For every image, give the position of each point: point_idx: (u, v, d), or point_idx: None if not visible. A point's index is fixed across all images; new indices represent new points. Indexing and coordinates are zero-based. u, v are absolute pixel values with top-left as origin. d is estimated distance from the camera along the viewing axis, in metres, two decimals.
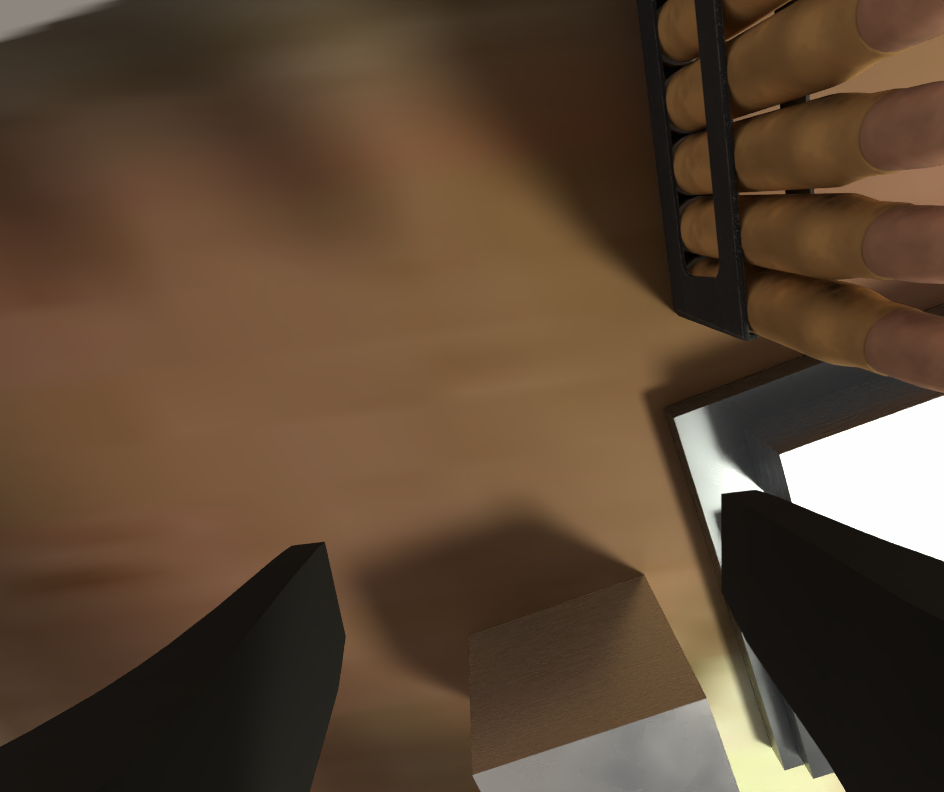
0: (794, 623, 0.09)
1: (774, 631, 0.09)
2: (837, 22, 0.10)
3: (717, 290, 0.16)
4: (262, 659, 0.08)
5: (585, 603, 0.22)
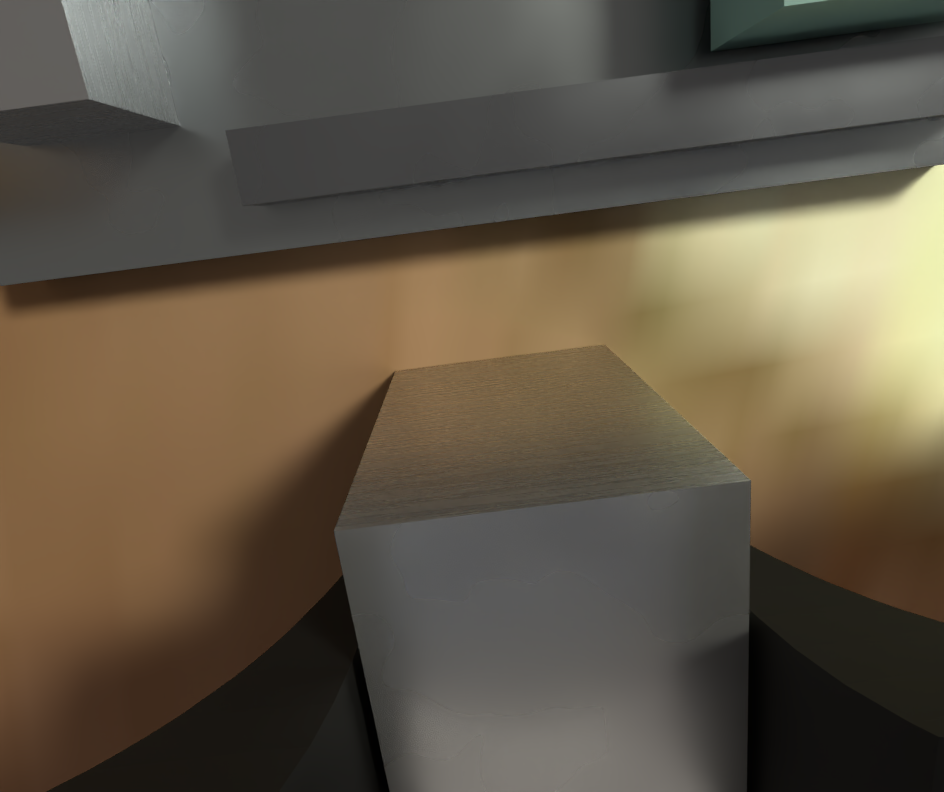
0: None
1: None
2: None
3: None
4: None
5: None
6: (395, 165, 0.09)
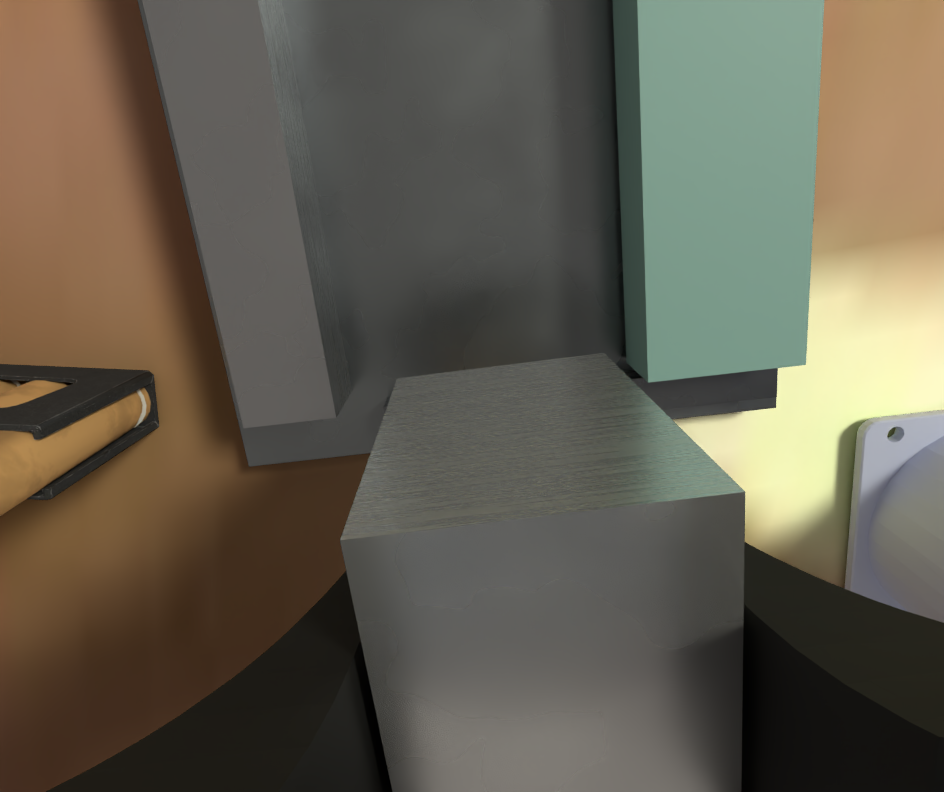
0: None
1: None
2: None
3: None
4: None
5: None
6: None
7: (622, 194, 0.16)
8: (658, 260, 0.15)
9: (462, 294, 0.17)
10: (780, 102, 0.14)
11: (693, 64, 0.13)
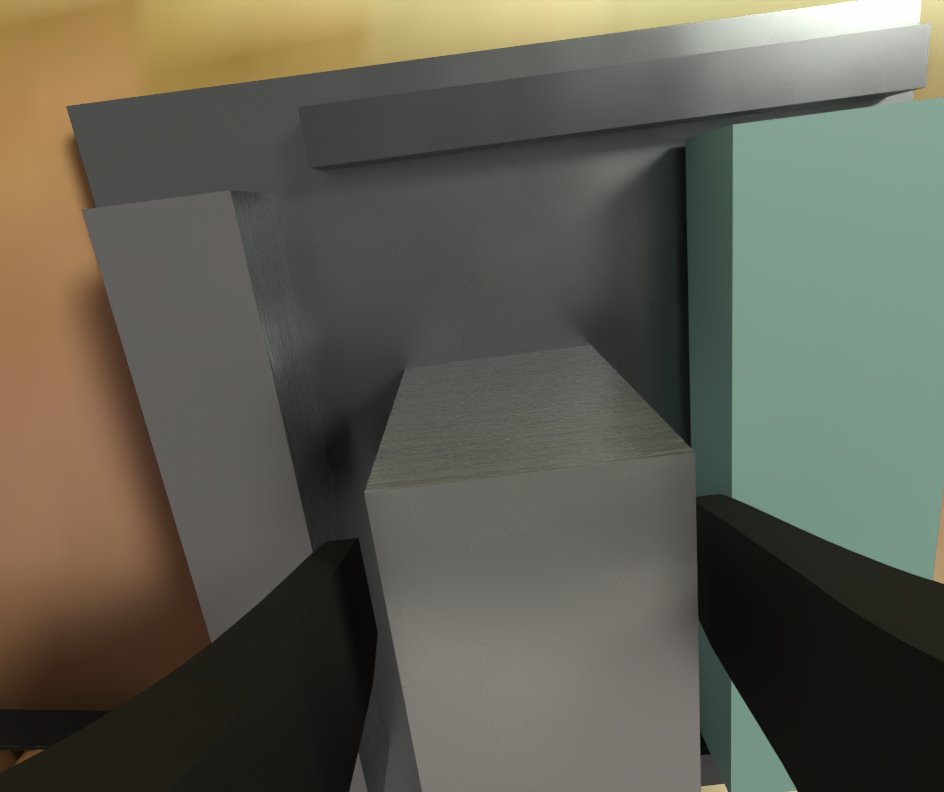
0: (752, 628, 0.09)
1: (734, 636, 0.09)
2: None
3: None
4: (308, 653, 0.08)
5: None
6: None
7: None
8: None
9: None
10: (893, 538, 0.12)
11: (794, 505, 0.12)
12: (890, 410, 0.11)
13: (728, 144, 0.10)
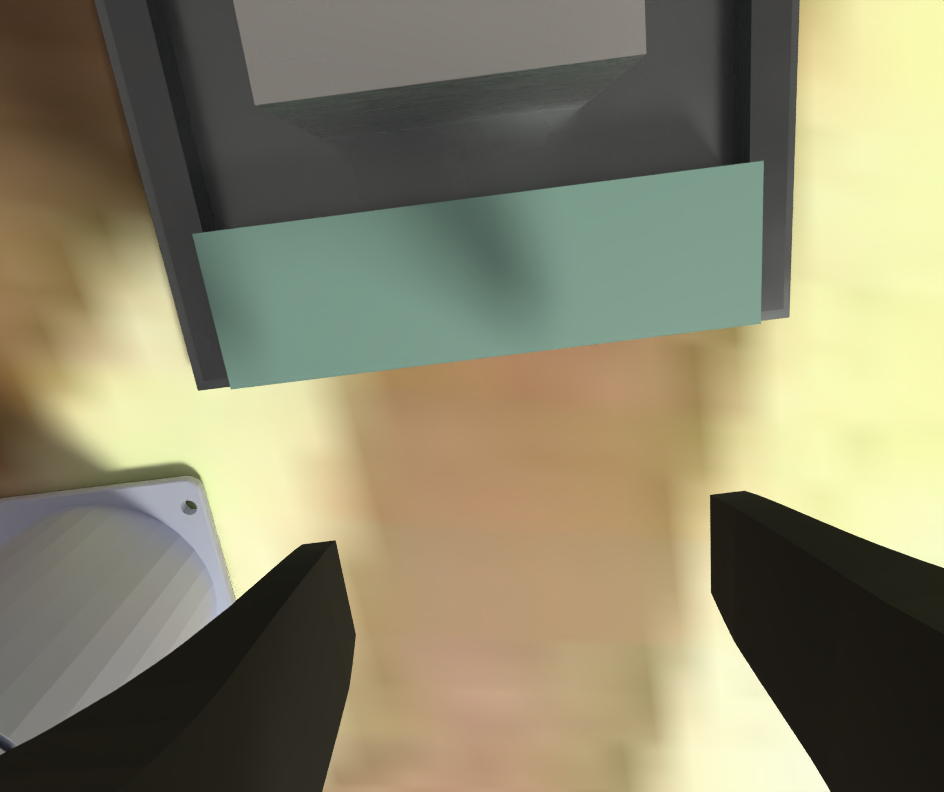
0: (781, 625, 0.09)
1: (761, 632, 0.09)
2: None
3: None
4: (277, 657, 0.08)
5: None
6: (124, 37, 0.15)
7: None
8: (316, 232, 0.15)
9: None
10: (459, 328, 0.16)
11: (487, 246, 0.15)
12: (560, 305, 0.16)
13: None
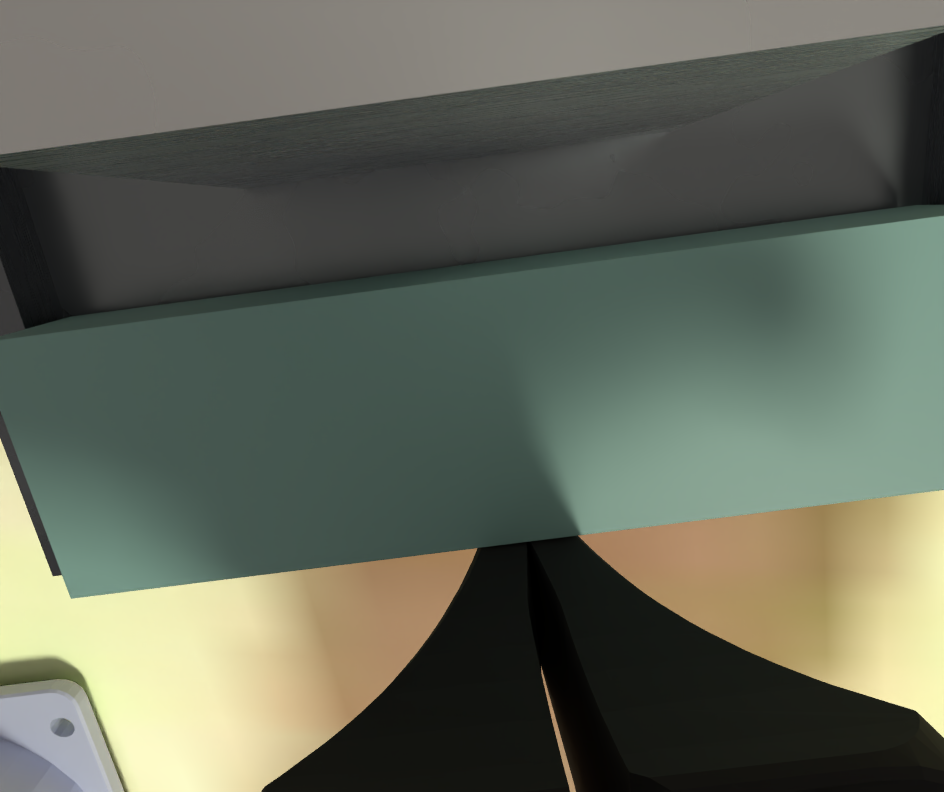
0: (551, 652, 0.09)
1: (547, 658, 0.09)
2: None
3: None
4: None
5: None
6: None
7: (341, 281, 0.10)
8: (204, 338, 0.08)
9: None
10: (465, 496, 0.09)
11: (517, 360, 0.08)
12: (646, 458, 0.09)
13: None
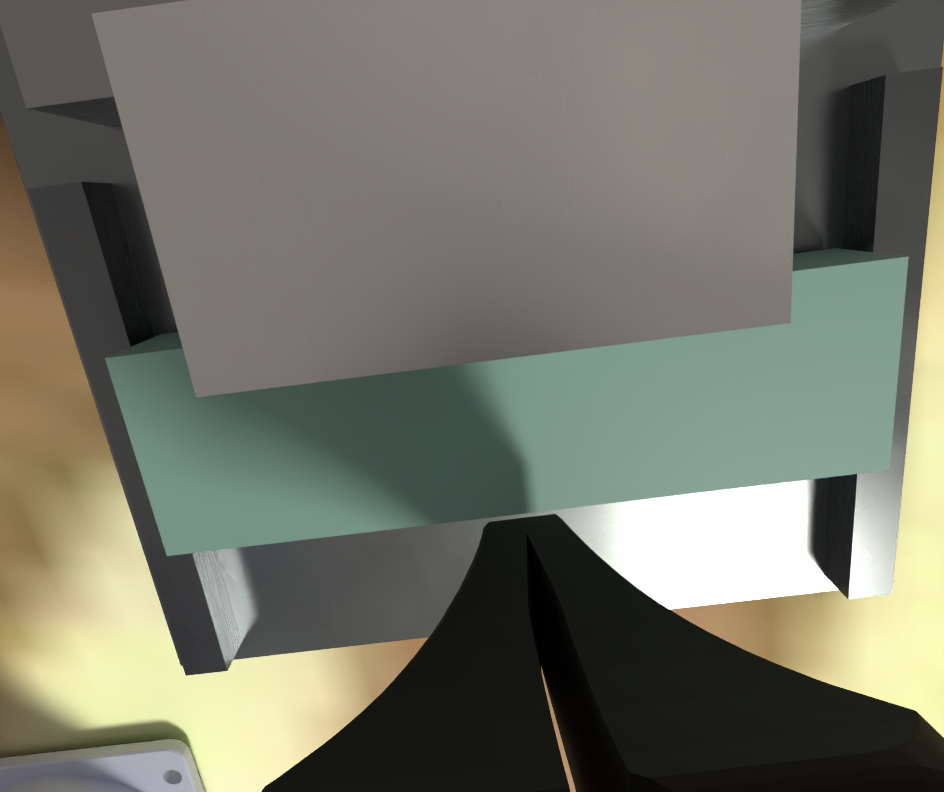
0: (551, 652, 0.09)
1: (547, 658, 0.09)
2: None
3: None
4: None
5: None
6: (81, 308, 0.12)
7: None
8: None
9: None
10: (475, 478, 0.12)
11: (517, 372, 0.11)
12: (616, 449, 0.11)
13: (884, 259, 0.11)
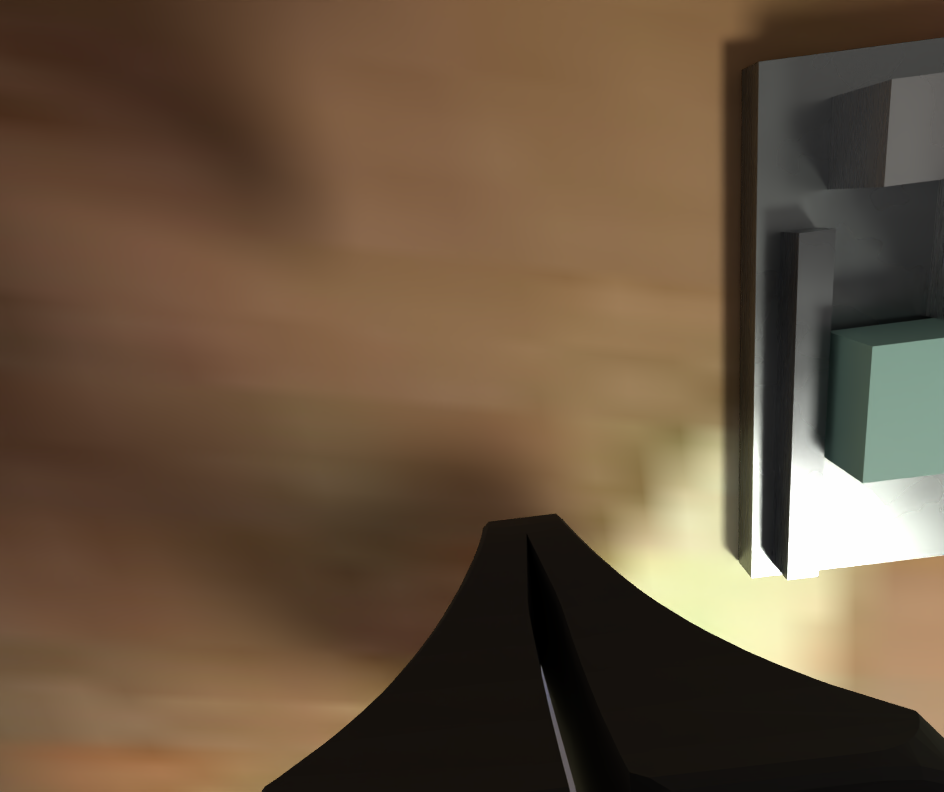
0: (551, 651, 0.09)
1: (547, 658, 0.09)
2: None
3: None
4: None
5: None
6: (805, 313, 0.17)
7: None
8: None
9: (902, 303, 0.18)
10: None
11: None
12: None
13: None
